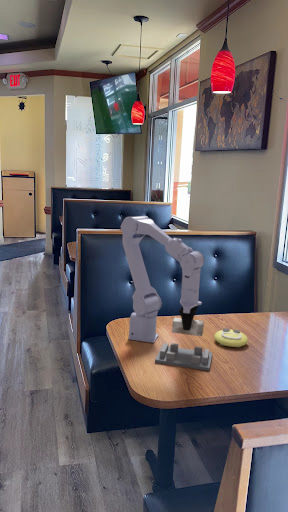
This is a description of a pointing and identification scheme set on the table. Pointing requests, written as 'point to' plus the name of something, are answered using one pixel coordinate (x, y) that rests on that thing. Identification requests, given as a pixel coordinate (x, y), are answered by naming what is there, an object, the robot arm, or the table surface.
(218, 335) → the emoji
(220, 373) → the table surface
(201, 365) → the cradle
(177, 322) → the light grey tapered block
